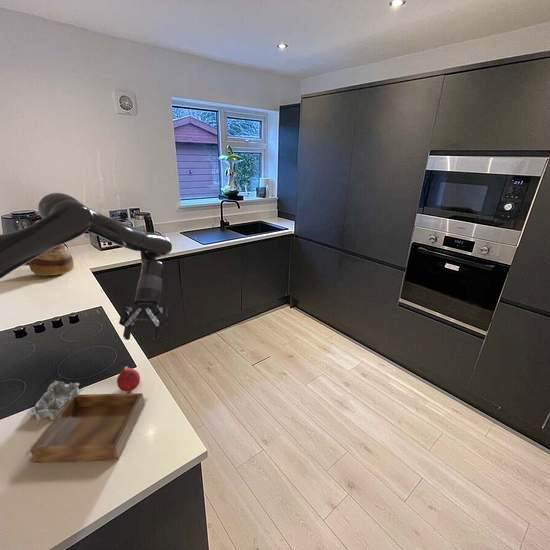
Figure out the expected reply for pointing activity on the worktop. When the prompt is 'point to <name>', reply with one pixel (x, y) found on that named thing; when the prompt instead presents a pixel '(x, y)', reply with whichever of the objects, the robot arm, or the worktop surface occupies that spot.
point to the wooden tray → (90, 428)
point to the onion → (128, 379)
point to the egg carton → (55, 399)
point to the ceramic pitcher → (52, 261)
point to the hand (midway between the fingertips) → (141, 339)
